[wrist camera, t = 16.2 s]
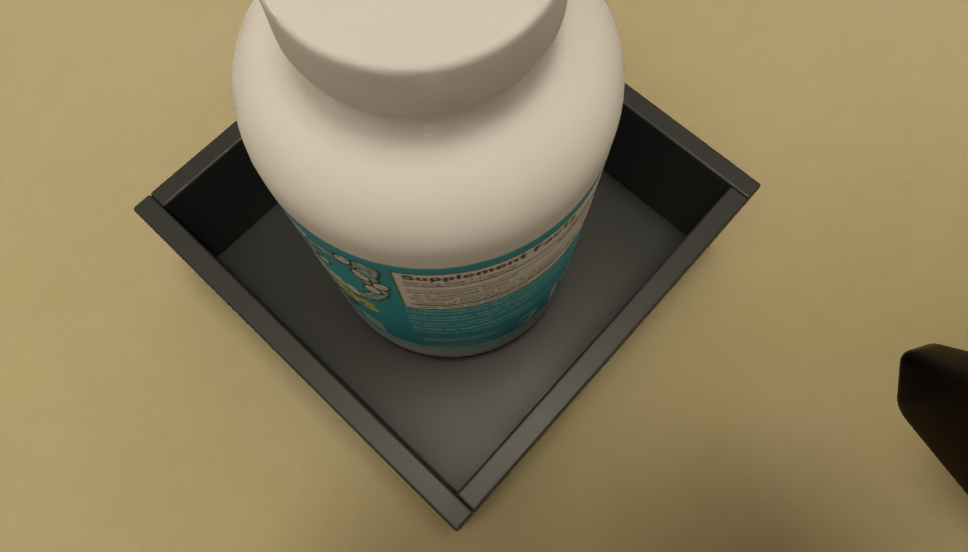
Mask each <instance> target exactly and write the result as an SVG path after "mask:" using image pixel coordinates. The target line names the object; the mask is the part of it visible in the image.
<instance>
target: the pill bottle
mask: <svg viewBox="0 0 968 552" xmlns="http://www.w3.org/2000/svg"><path fill="white" fill-rule="evenodd" d="M624 86H625V77H624V61H623V54H622V48H621V42H620V39H619V35H618V32H617V28H616V26H615V23H614V20H613V17H612V14H611V12H610V10H609V8H608V6H607V4H606V2H605V0H253V2H252V4H251V6H250V8H249V10H248V12H247V14H246V16H245V18H244V20H243V23H242V26H241V29H240V32H239V35H238V38H237V42H236V47H235V52H234V56H233V63H232V97H233V104H234V110H235V116H236V120H237V124H238V128H239V131H240V134H241V137H242V140H243V143H244V145H245V148H246V150H247V152H248V155H249V157H250V159H251V162H252V164H253V165H254V167H255V169H256V170H257V172H258V174H259V175H260V177H261V179H262V180H263V182H264V183H265V185H266V186H267V188H268V189H269V191H270V192H271V193H272V195H273V196H274V198H275V199H276V200H277V202H278V203H279V205H280V206H281V207H282V209H283V210H284V212H285V213H286V214H287V216H288V217H289V219H290V220H291V221H292V223H293V224H294V225H295V227H296V228H297V229H298V231H299V232H300V234H301V235H302V236H303V238H304V239H305V240H306V242H307V243H308V244H309V246H310V247H311V248H312V250H313V251H314V253H315V254H316V256H317V257H318V259H319V260H320V261H321V263H322V264H323V266H324V267H325V268H326V270H327V271H328V272H329V274H330V275H331V277H332V278H333V280H334V281H335V282H336V284H337V285H338V287H339V288H340V290H341V291H342V292H343V294H344V295H345V297H346V298H347V299H348V301H349V302H350V304H351V305H352V306H353V308H354V309H355V310H356V312H357V313H358V314H359V315H360V317H361V318H362V319H363V320H364V321H365V322H366V323H367V324H368V325H369V326H370V327H371V328H373V329H374V330H375V331H376V332H378V333H379V334H380V335H382V336H383V337H385V338H386V339H388V340H390V341H391V342H393V343H395V344H397V345H399V346H401V347H403V348H406V349H408V350H411V351H414V352H417V353H421V354H426V355H431V356H440V357H462V356H471V355H476V354H480V353H484V352H488V351H491V350H493V349H496V348H498V347H501V346H503V345H505V344H507V343H509V342H511V341H513V340H514V339H516V338H517V337H519V336H520V335H522V334H523V333H524V332H526V331H527V330H528V329H529V328H530V327H532V326H533V325H534V324H535V323H536V322H537V321H538V320H539V319H540V318H541V317H542V315H543V314H544V313H545V312H546V310H547V309H548V308H549V306H550V305H551V303H552V302H553V300H554V299H555V297H556V295H557V293H558V291H559V289H560V287H561V284H562V282H563V279H564V277H565V274H566V272H567V269H568V266H569V263H570V261H571V258H572V255H573V252H574V249H575V246H576V244H577V241H578V238H579V235H580V232H581V229H582V226H583V224H584V221H585V218H586V215H587V213H588V210H589V208H590V205H591V202H592V199H593V196H594V193H595V190H596V188H597V185H598V182H599V180H600V177H601V174H602V171H603V168H604V165H605V162H606V160H607V157H608V154H609V151H610V148H611V145H612V142H613V140H614V137H615V134H616V131H617V128H618V124H619V120H620V116H621V111H622V105H623V100H624Z"/></svg>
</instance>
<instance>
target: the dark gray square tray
mask: <svg viewBox="0 0 968 552" xmlns="http://www.w3.org/2000/svg"><path fill="white" fill-rule="evenodd" d="M759 188H760V184H759V183H758V182H757V181H755V180H754V179H753V178H751V177H750V176H749V175H747V174H746V173H745V172H743V171H742V170H741V169H739V168H738V167H737V166H735V165H734V164H733V163H731V162H730V161H729V160H727V159H726V158H725V157H723V156H722V155H720V154H719V153H718V152H716V151H715V150H714V149H712V148H711V147H710V146H708V145H707V144H706V143H704V142H703V141H702V140H700V139H699V138H698V137H696V136H695V135H694V134H692V133H691V132H690V131H688V130H687V129H686V128H684V127H683V126H682V125H680V124H679V123H678V122H676V121H675V120H674V119H672V118H671V117H670V116H668V115H667V114H666V113H664V112H663V111H662V110H660V109H659V108H658V107H656V106H655V105H654V104H652V103H651V102H650V101H648V100H647V99H646V98H644V97H643V96H642V95H640V94H639V93H638V92H636V91H635V90H634V89H632V88H631V87H630V86H628V85H627V84H626V83H625V86H624V100H623V105H622V111H621V116H620V120H619V124H618V128H617V131H616V134H615V137H614V140H613V142H612V145H611V148H610V151H609V154H608V157H607V160H606V162H605V165H604V168H603V171H602V174H601V177H600V180H599V182H598V185H597V188H596V190H595V193H594V196H593V199H592V202H591V205H590V208H589V210H588V213H587V215H586V218H585V221H584V224H583V226H582V229H581V232H580V235H579V238H578V241H577V244H576V246H575V249H574V252H573V255H572V258H571V261H570V263H569V266H568V269H567V272H566V274H565V277H564V279H563V282H562V284H561V287H560V289H559V291H558V293H557V295H556V297H555V299H554V300H553V302H552V303H551V305H550V306H549V308H548V309H547V310H546V312H545V313H544V314H543V315H542V317H541V318H540V319H539V320H538V321H537V322H536V323H535V324H534V325H533V326H532V327H530V328H529V329H528V330H527V331H526V332H524V333H523V334H522V335H520V336H519V337H517V338H516V339H514V340H513V341H511V342H509V343H507V344H505V345H503V346H501V347H498V348H496V349H493V350H491V351H488V352H484V353H480V354H476V355H471V356H462V357H440V356H431V355H426V354H421V353H417V352H414V351H411V350H408V349H406V348H403V347H401V346H399V345H397V344H395V343H393V342H391V341H390V340H388V339H386V338H385V337H383V336H382V335H380V334H379V333H378V332H376V331H375V330H374V329H373V328H371V327H370V326H369V325H368V324H367V323H366V322H365V321H364V320H363V319H362V318H361V317H360V315H359V314H358V313H357V312H356V310H355V309H354V308H353V306H352V305H351V304H350V302H349V301H348V299H347V298H346V297H345V295H344V294H343V292H342V291H341V290H340V288H339V287H338V285H337V284H336V282H335V281H334V280H333V278H332V277H331V275H330V274H329V272H328V271H327V270H326V268H325V267H324V266H323V264H322V263H321V261H320V260H319V259H318V257H317V256H316V254H315V253H314V251H313V250H312V248H311V247H310V246H309V244H308V243H307V242H306V240H305V239H304V238H303V236H302V235H301V234H300V232H299V231H298V229H297V228H296V227H295V225H294V224H293V223H292V221H291V220H290V219H289V217H288V216H287V214H286V213H285V212H284V210H283V209H282V207H281V206H280V205H279V203H278V202H277V200H276V199H275V198H274V196H273V195H272V193H271V192H270V191H269V189H268V188H267V186H266V185H265V183H264V182H263V180H262V179H261V177H260V175H259V174H258V172H257V170H256V169H255V167H254V165H253V164H252V162H251V159H250V157H249V155H248V152H247V150H246V148H245V145H244V143H243V140H242V137H241V134H240V131H239V128H238V124H237V121H236V122H234V123H233V124H232V125H231V126H230V127H229V128H227V129H226V130H225V131H224V132H223V133H221V134H220V135H219V136H218V137H217V138H216V139H214V140H213V141H212V142H211V143H210V144H209V145H207V146H206V147H205V148H204V149H203V150H201V151H200V152H199V153H198V154H197V155H196V156H194V157H193V158H192V159H191V160H190V161H188V162H187V163H186V164H185V165H184V166H183V167H181V168H180V169H179V170H178V171H177V172H176V173H174V174H173V175H172V176H171V177H170V178H168V179H167V180H166V181H165V182H164V183H163V184H161V185H160V186H159V187H158V188H157V189H156V190H154V191H153V192H152V193H151V195H152V196H150V195H149V196H147V197H146V198H145V199H144V200H143V201H141V202H140V203H139V204H138V205H137V206H136V207H135V208H134V210H135V212H136V213H137V214H138V215H139V216H140V217H141V218H142V219H143V220H144V221H145V222H146V223H147V224H148V225H149V226H150V227H151V228H152V229H153V230H154V231H155V232H156V233H157V234H158V235H159V236H160V237H161V238H162V239H163V240H164V241H165V242H166V243H167V244H168V245H169V246H170V247H171V248H172V249H173V250H174V251H175V252H176V253H177V254H178V255H179V256H180V257H181V258H182V259H183V260H184V261H185V262H186V263H187V264H188V265H189V266H190V267H191V268H192V269H193V270H194V271H195V272H196V273H197V274H198V275H199V276H200V277H201V278H202V279H203V280H204V281H205V282H206V283H207V284H208V285H209V286H210V287H211V288H212V289H213V290H214V291H215V292H216V293H217V294H218V295H219V296H220V297H221V298H222V299H223V300H224V301H225V302H226V303H227V304H228V305H229V306H230V307H231V308H232V309H233V310H234V311H235V312H237V313H238V314H239V315H240V316H241V317H242V318H243V319H244V320H245V321H246V322H247V323H248V324H249V325H250V326H251V327H252V328H253V329H254V330H255V331H256V332H257V333H258V334H259V335H260V336H261V337H262V338H263V339H264V340H265V341H266V342H267V343H268V344H269V345H270V346H271V347H272V348H273V349H274V350H275V351H276V352H277V353H278V354H279V355H280V356H281V357H282V358H283V359H284V360H285V361H286V362H287V363H288V364H289V365H290V366H291V367H292V368H293V369H294V370H295V371H296V372H297V373H298V374H299V375H300V376H301V377H302V378H303V379H304V380H305V381H306V382H307V383H308V384H309V385H310V386H311V387H312V388H313V389H314V390H315V391H316V392H317V393H318V394H319V395H320V396H321V397H322V398H323V399H324V400H325V401H326V402H327V403H328V404H329V405H330V406H331V407H332V408H333V409H334V410H335V411H336V412H337V413H338V414H339V415H340V416H341V417H342V418H343V419H344V420H345V421H346V422H347V423H348V424H349V425H350V426H351V427H352V428H353V429H354V430H355V431H356V432H357V433H358V434H359V435H360V436H361V437H362V438H363V439H364V440H365V441H366V442H367V443H368V444H369V445H370V446H371V447H372V448H373V449H374V450H375V451H376V452H377V453H378V454H379V455H380V456H381V457H382V458H383V459H384V460H385V461H386V462H387V463H388V464H389V465H390V466H391V467H392V468H393V469H394V470H395V471H396V472H397V473H398V474H399V475H400V476H401V477H402V478H403V479H404V480H405V481H406V482H407V483H408V484H409V485H410V486H411V487H412V488H413V489H414V490H415V491H416V492H417V493H418V494H419V495H420V496H421V497H422V498H423V499H424V500H425V501H426V502H427V503H428V504H429V505H430V506H431V507H432V508H433V509H434V510H435V511H436V512H437V513H438V514H439V515H440V516H441V517H442V518H443V519H444V520H445V521H446V522H447V523H448V524H449V525H450V526H451V527H452V528H453V529H454V530H456V531H458V530H459V529H460V528H461V527H463V526H464V525H465V524H466V522H467V521H468V520H469V519H470V518H471V517H472V516H473V514H474V513H475V512H476V511H477V510H478V509H479V508H480V506H481V505H482V504H483V503H484V502H485V501H486V500H487V498H488V497H489V496H490V495H491V494H492V493H493V492H494V490H495V489H496V488H497V487H498V486H499V485H500V484H501V483H502V481H503V480H504V479H505V478H506V477H507V476H508V475H509V473H510V472H511V471H512V470H513V469H514V468H515V467H516V465H517V464H518V463H519V462H520V461H521V460H522V459H523V457H524V456H525V455H526V454H527V453H528V452H529V451H530V449H531V448H532V447H533V446H534V445H535V444H536V443H537V441H538V440H539V439H540V438H541V437H542V436H543V435H544V433H545V432H546V431H547V430H548V429H549V428H550V427H551V426H552V424H553V423H554V422H555V421H556V420H557V419H558V418H559V416H560V415H561V414H562V413H563V412H564V411H565V410H566V408H567V407H568V406H569V405H570V404H571V403H572V402H573V400H574V399H575V398H576V397H577V396H578V395H579V394H580V392H581V391H582V390H583V389H584V388H585V387H586V386H587V384H588V383H589V382H590V381H591V380H592V379H593V378H594V376H595V375H596V374H597V373H598V372H599V371H600V370H601V369H602V367H603V366H604V365H605V364H606V363H607V362H608V361H609V359H610V358H611V357H612V356H613V355H614V354H615V353H616V351H617V350H618V349H619V348H620V347H621V346H622V345H623V343H624V342H625V341H626V340H627V339H628V338H629V337H630V335H631V334H632V333H633V332H634V331H635V330H636V329H637V327H638V326H639V325H640V324H641V323H642V322H643V321H644V320H645V318H646V317H647V316H648V315H649V314H650V313H651V312H652V310H653V309H654V308H655V307H656V306H657V305H658V304H659V302H660V301H661V300H662V299H663V298H664V297H665V296H666V294H667V293H668V292H669V291H670V290H671V289H672V288H673V286H674V285H675V284H676V283H677V282H678V281H679V280H680V278H681V277H682V276H683V275H684V274H685V273H686V272H687V270H688V269H689V268H690V267H691V266H692V265H693V264H694V263H695V261H696V260H697V259H698V258H699V257H700V256H701V255H702V253H703V252H704V251H705V250H706V249H707V248H708V247H709V245H710V244H711V243H712V242H713V241H714V240H715V238H716V237H717V236H718V235H719V234H720V233H721V232H722V230H723V229H724V228H725V227H726V226H727V225H728V223H729V222H730V221H731V220H732V219H733V218H734V216H735V215H736V214H737V213H738V212H739V211H740V210H741V208H742V207H743V206H744V205H745V204H746V203H747V201H748V200H749V199H750V198H751V197H752V196H753V194H754V193H755V192H756V191H757V190H758V189H759Z"/></svg>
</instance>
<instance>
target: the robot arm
mask: <svg viewBox="0 0 968 552" xmlns="http://www.w3.org/2000/svg"><path fill="white" fill-rule="evenodd" d="M897 402H898V406H899V409H900V411H901V413H902V415H903V416H904V418H905V419H906V420H907V421H908V423H909V424H910V425H911V426H912V427H913V429H914V430H915V431H916V432H917V434H918V435H919V436H920V437H921V438H922V440H923V441H924V442H925V443H926V445H927V446H928V447H929V448H930V449H931V451H932V452H933V453H934V454H935V456H936V457H937V458H938V459H939V460H940V462H941V463H942V464H943V465H944V467H945V468H946V469H947V470H948V471H949V473H950V474H951V475H952V476H953V478H954V479H955V480H956V481H957V482H958V484H959V485H960V486H961V487H962V489H963V490H964V491H965V492H966V493H967V495H968V351H964V350H960V349H956V348H952V347H948V346H944V345H940V344H927V345H924V346H921V347H918V348H915V349H912V350H909V351H907V352H905V353H904V354H903V355H902V357H901V359H900V367H899V380H898V392H897Z"/></svg>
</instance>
